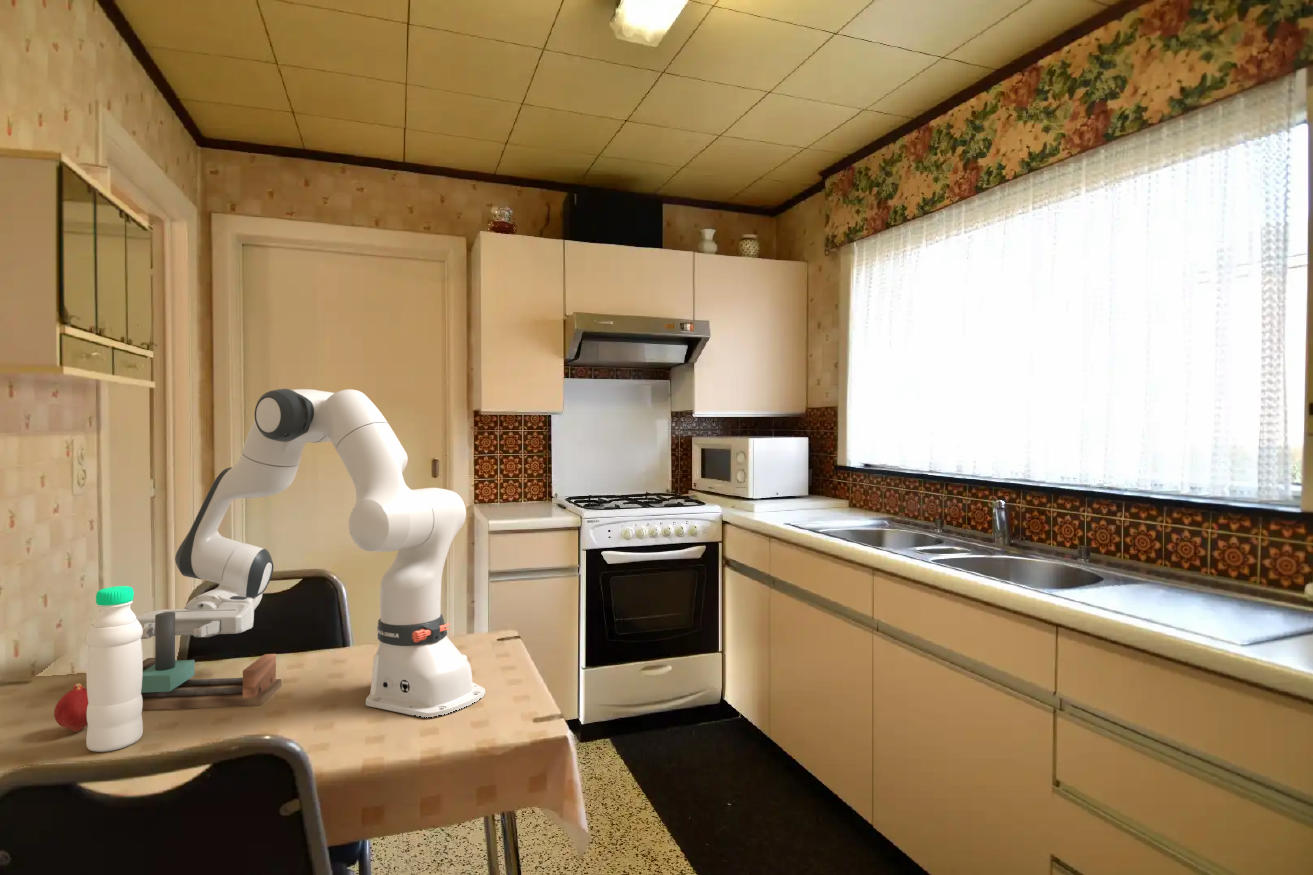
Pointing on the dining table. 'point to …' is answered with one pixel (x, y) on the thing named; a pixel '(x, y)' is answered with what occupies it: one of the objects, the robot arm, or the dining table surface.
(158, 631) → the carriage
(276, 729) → the dining table surface
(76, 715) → the onion
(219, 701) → the rail
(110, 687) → the white bottle
